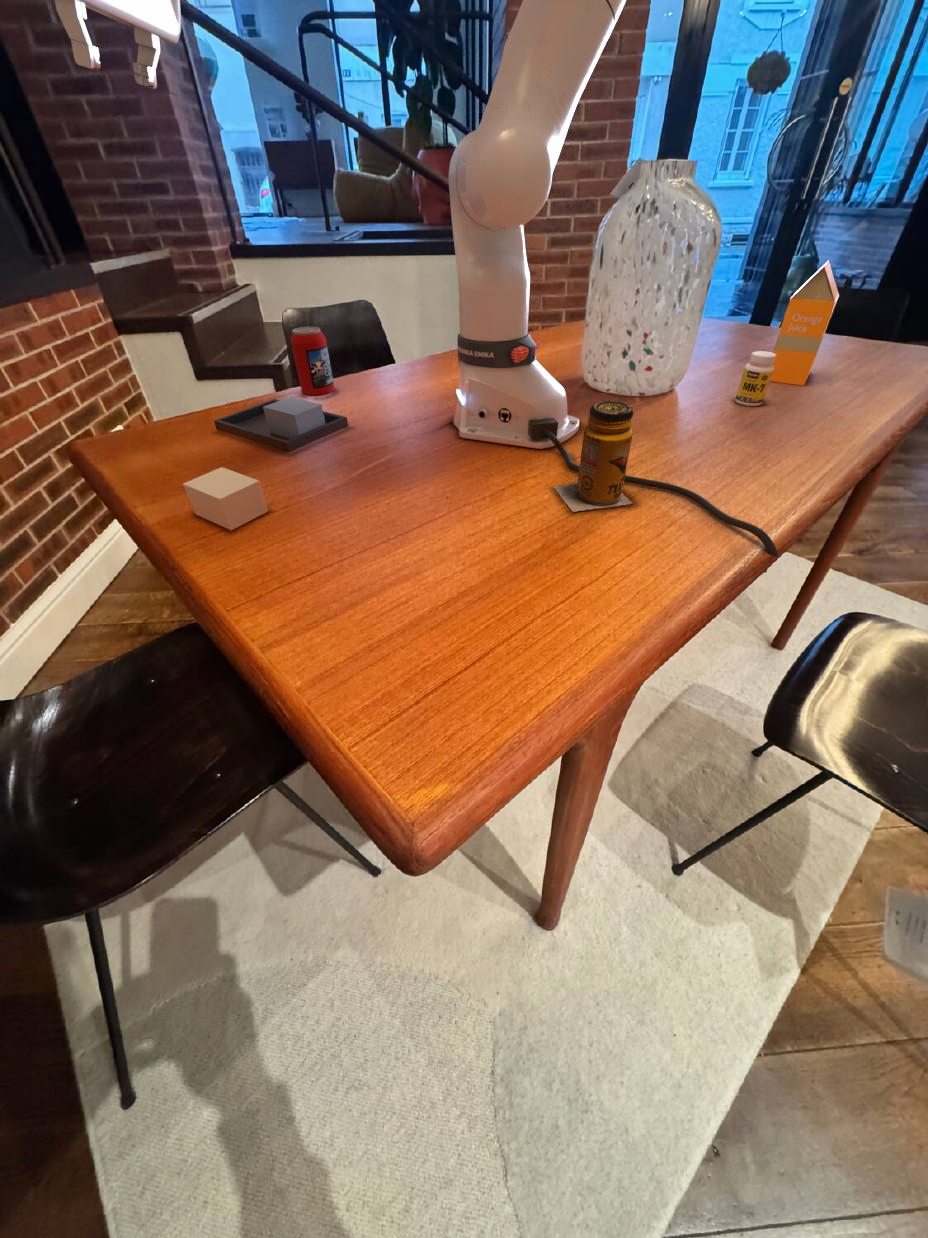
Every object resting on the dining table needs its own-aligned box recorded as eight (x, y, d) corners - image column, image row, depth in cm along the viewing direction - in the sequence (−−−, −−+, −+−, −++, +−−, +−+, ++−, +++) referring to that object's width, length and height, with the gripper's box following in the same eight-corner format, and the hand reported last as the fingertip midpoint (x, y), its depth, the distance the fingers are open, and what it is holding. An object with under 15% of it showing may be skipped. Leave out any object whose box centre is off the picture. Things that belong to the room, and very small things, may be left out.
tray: (349, 428, 93) (347, 416, 92) (289, 455, 85) (286, 442, 84) (277, 409, 102) (274, 398, 101) (217, 432, 94) (213, 420, 93)
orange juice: (809, 374, 110) (853, 259, 97) (804, 385, 105) (850, 266, 92) (769, 369, 114) (806, 258, 101) (762, 380, 108) (800, 264, 95)
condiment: (632, 504, 70) (651, 413, 62) (572, 513, 68) (584, 420, 60) (609, 480, 75) (623, 394, 67) (553, 488, 74) (561, 400, 66)
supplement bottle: (734, 404, 97) (749, 355, 92) (734, 397, 101) (749, 349, 95) (762, 407, 96) (779, 357, 90) (762, 399, 99) (778, 351, 94)
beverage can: (327, 399, 106) (315, 333, 98) (297, 398, 107) (282, 333, 99) (340, 389, 111) (329, 325, 103) (310, 387, 112) (297, 325, 104)
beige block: (268, 511, 71) (259, 480, 68) (231, 530, 67) (219, 499, 64) (232, 496, 74) (221, 466, 72) (194, 514, 71) (182, 483, 68)
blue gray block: (326, 430, 91) (321, 404, 88) (300, 442, 88) (294, 414, 85) (296, 422, 95) (290, 396, 92) (269, 432, 91) (262, 406, 88)
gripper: (35, -185, 41) (77, 63, 50) (185, -70, 57) (197, 102, 66) (-43, -208, 41) (13, 44, 50) (130, -87, 57) (149, 88, 66)
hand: (119, 77), depth 58 cm, fingers open, 8 cm apart
